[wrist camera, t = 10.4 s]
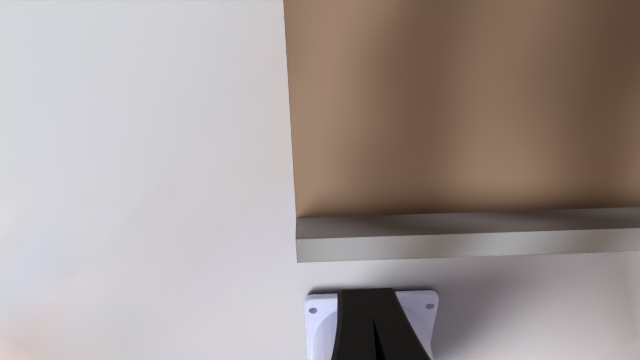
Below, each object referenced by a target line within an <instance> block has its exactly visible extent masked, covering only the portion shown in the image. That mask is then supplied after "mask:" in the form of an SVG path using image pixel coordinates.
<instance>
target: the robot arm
mask: <svg viewBox="0 0 640 360" xmlns="http://www.w3.org/2000/svg"><path fill="white" fill-rule="evenodd" d="M438 303H439V296H438V294H437V292H435V291H432V290H425V291H397V292H395V291H394V290H393V289H391V288H382V289H355V290H341V291H340V292H339V293H337V294H312V295H309V296H307V297H306V298H305V300H304V306H305V324H306V343H307V360H434V358H433V354H432V351H431V347H430V343H431V338H432V333H433V328H434V323H435V318H436V313H437V308H438Z"/></svg>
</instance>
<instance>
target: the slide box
mask: <svg viewBox="0 0 640 360" xmlns="http://www.w3.org/2000/svg"><path fill="white" fill-rule="evenodd" d="M283 3H284V20H285V36H286V53H287V70H288V87H289V104H290V121H291V138H292V155H293V171H294V188H295V205H296V252H297V263H300V262H330V261H359V260H388V259H418V258H447V257H477V256H506V255H536V254H565V253H594V252H624V251H640V0H283Z"/></svg>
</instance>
